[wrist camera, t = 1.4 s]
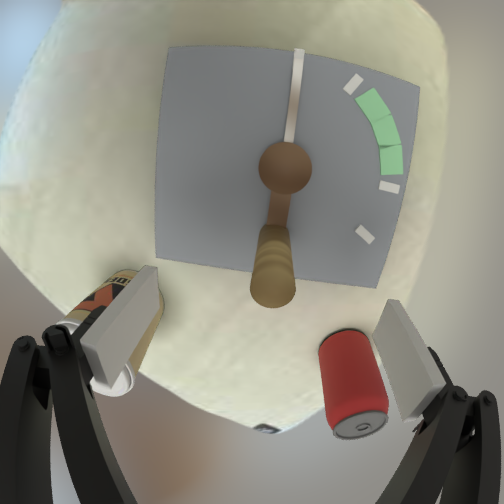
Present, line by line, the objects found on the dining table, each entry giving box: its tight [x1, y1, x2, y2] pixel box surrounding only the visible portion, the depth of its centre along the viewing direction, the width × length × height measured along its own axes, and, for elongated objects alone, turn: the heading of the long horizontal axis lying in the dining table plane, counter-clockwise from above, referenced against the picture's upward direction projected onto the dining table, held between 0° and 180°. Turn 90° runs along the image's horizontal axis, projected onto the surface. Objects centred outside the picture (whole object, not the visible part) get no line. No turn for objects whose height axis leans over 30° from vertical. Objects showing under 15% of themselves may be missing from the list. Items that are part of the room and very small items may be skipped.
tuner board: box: [155, 46, 420, 288], centre depth 22 cm, size 20×22×2 cm
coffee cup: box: [55, 270, 164, 396], centre depth 25 cm, size 9×9×12 cm
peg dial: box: [250, 58, 312, 308], centre depth 16 cm, size 16×4×9 cm, turn 173°
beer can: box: [318, 331, 389, 440], centre depth 25 cm, size 7×7×12 cm
